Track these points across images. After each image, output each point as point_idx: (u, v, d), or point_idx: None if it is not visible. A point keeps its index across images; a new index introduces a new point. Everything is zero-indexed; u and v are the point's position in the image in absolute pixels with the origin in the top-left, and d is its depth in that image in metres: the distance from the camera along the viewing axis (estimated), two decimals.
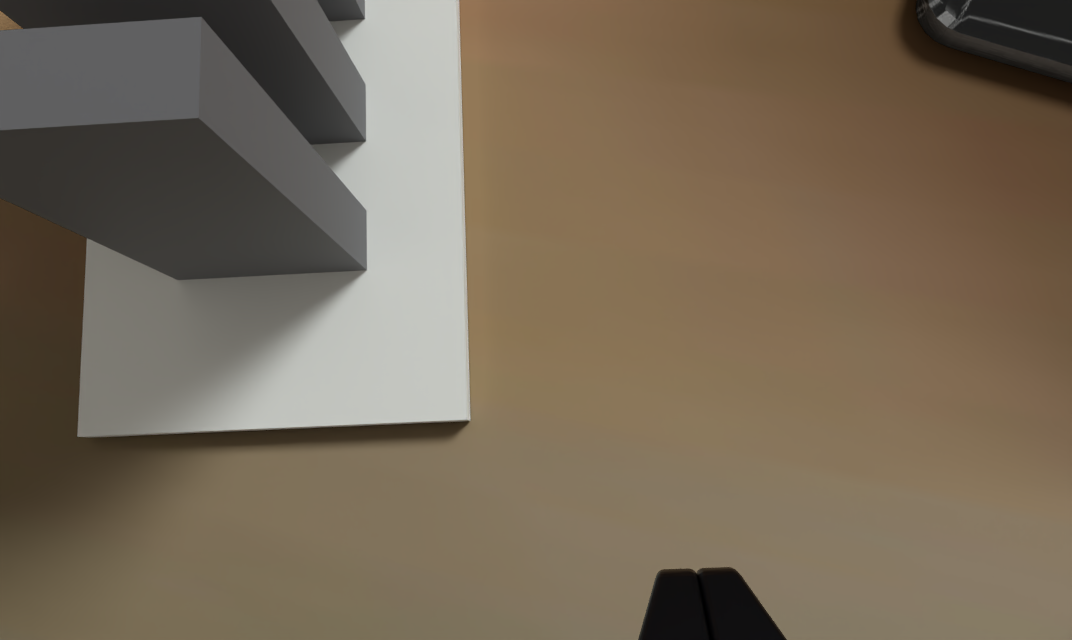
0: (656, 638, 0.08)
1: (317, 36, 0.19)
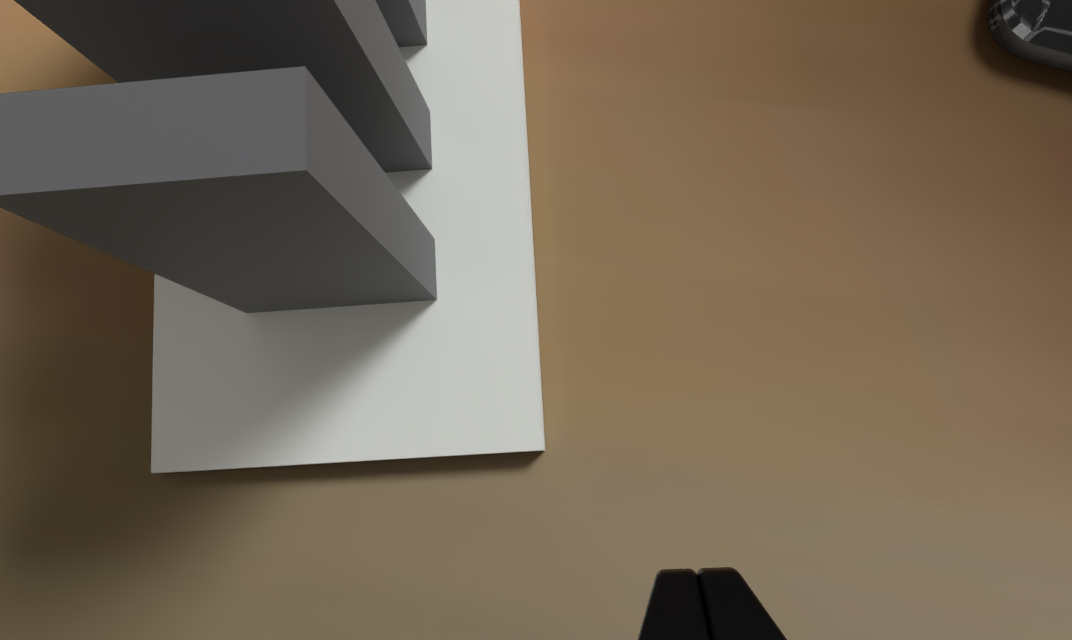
0: (656, 638, 0.08)
1: (392, 69, 0.19)
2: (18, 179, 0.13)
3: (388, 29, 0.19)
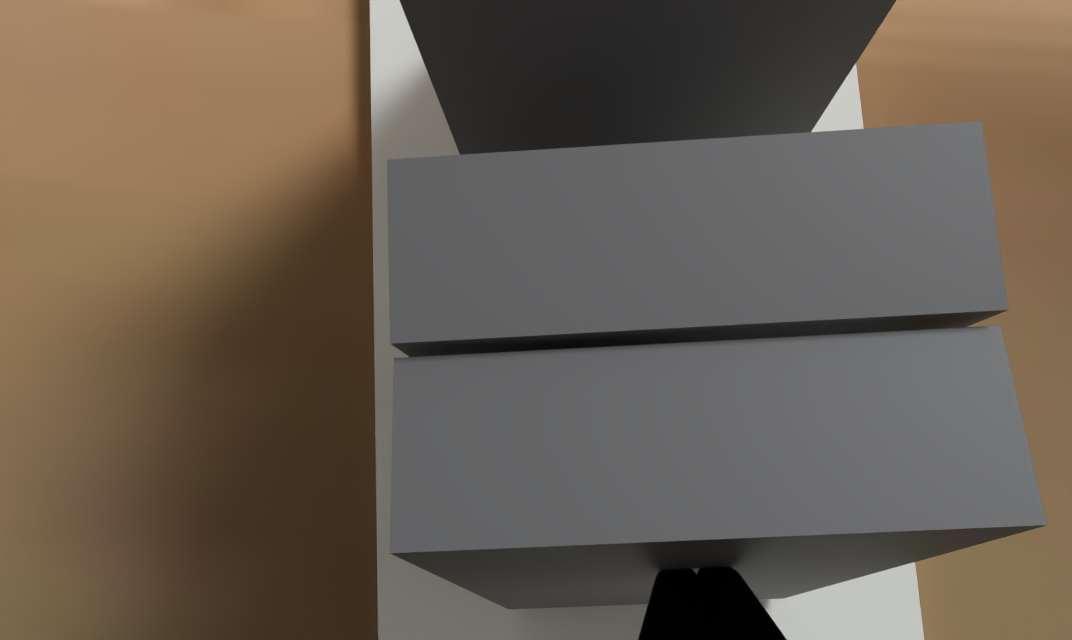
0: (656, 638, 0.08)
1: None
2: (470, 520, 0.07)
3: None
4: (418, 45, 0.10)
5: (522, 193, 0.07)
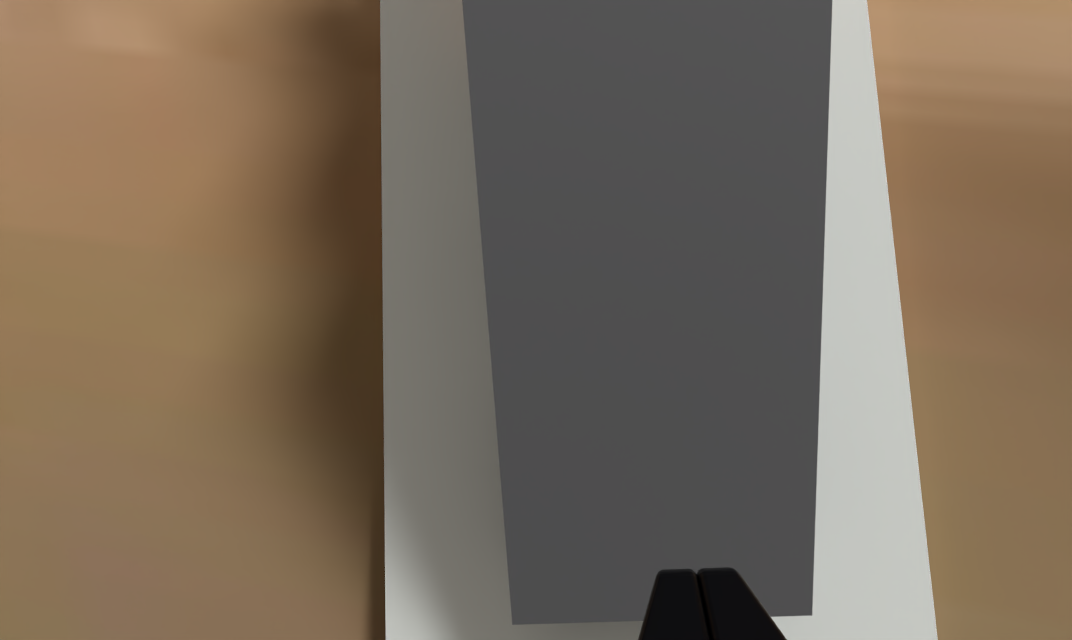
0: (655, 638, 0.08)
1: None
2: None
3: None
4: None
5: None
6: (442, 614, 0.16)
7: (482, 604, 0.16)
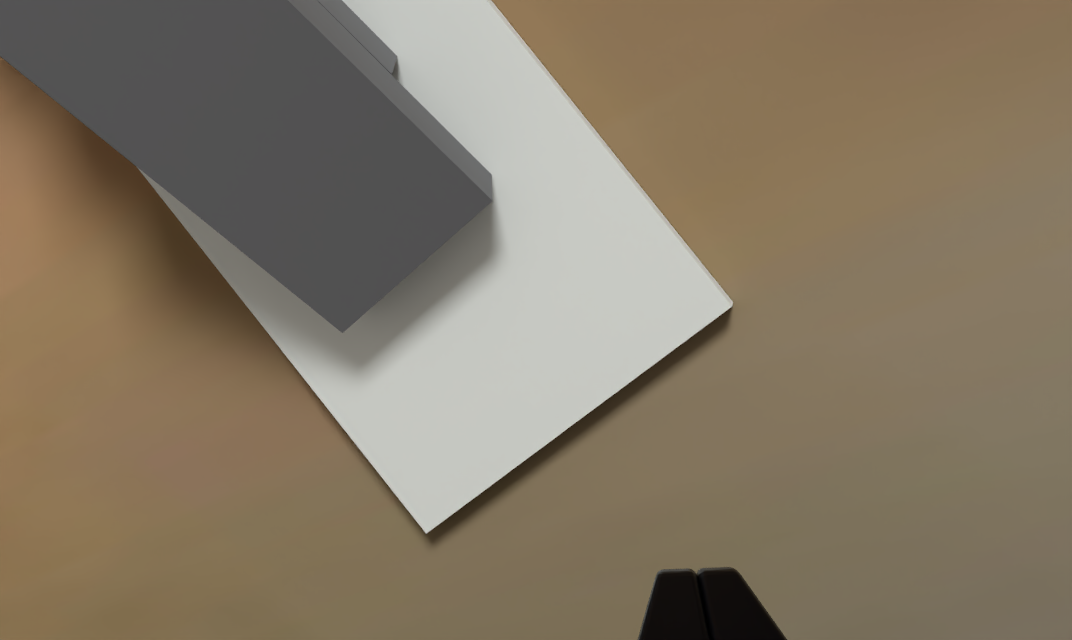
0: (655, 638, 0.08)
1: None
2: None
3: None
4: None
5: None
6: (331, 355, 0.23)
7: (346, 333, 0.23)
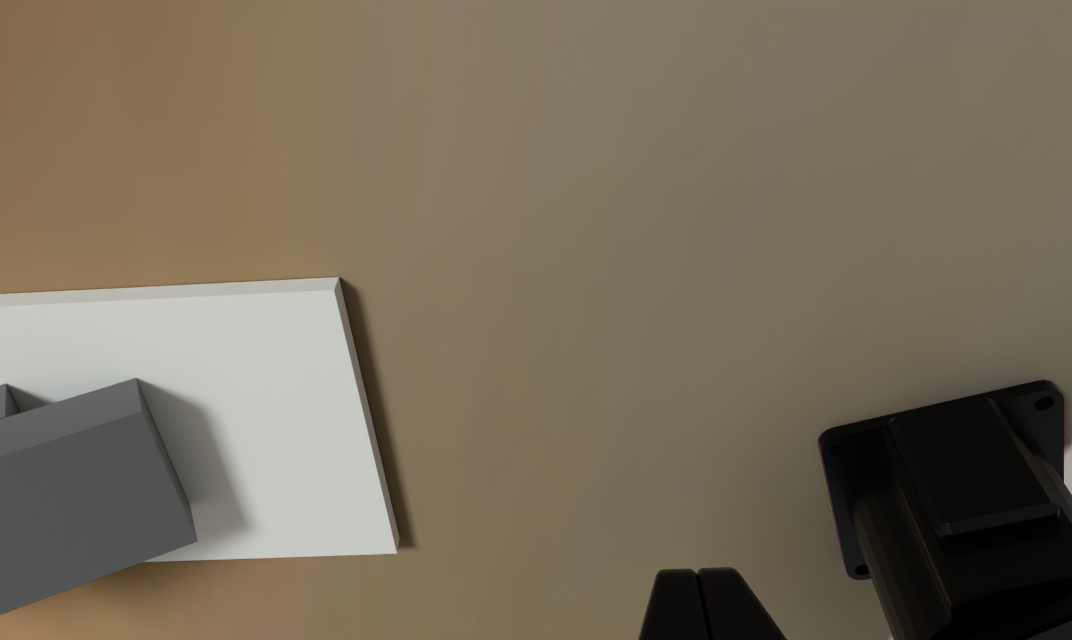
0: (656, 638, 0.08)
1: None
2: None
3: None
4: None
5: None
6: (226, 536, 0.28)
7: (214, 520, 0.27)
